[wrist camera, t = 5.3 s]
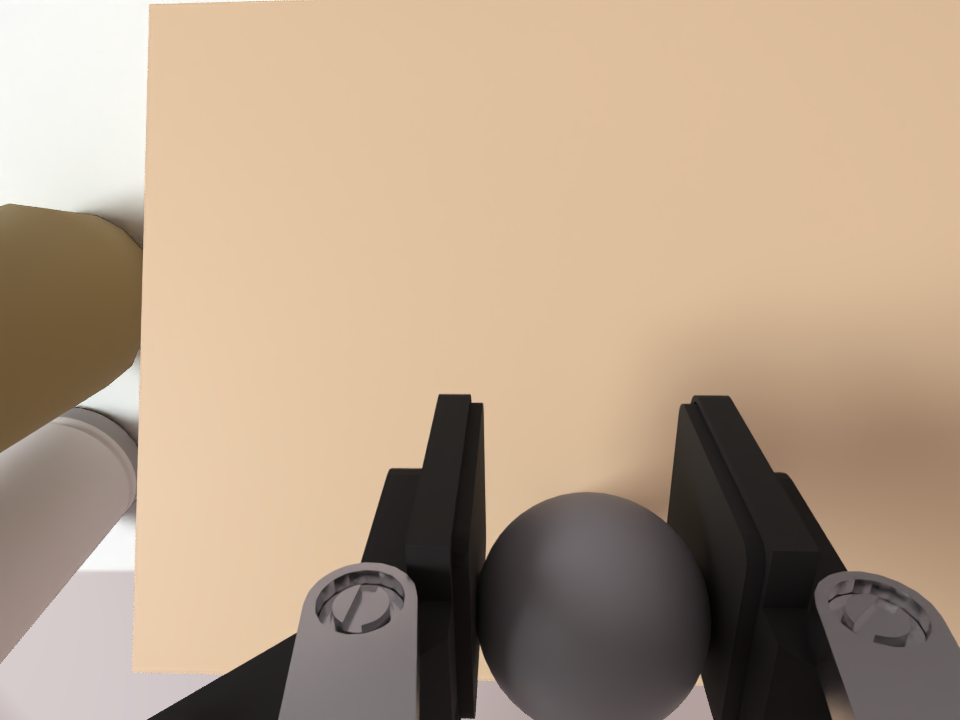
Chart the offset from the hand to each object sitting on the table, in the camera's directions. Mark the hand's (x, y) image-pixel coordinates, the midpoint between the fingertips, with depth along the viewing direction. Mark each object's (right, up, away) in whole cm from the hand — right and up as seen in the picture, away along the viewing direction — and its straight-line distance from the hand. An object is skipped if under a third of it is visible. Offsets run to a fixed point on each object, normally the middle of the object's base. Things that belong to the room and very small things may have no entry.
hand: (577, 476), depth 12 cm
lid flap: (0, +3, +5) cm, 6 cm away
